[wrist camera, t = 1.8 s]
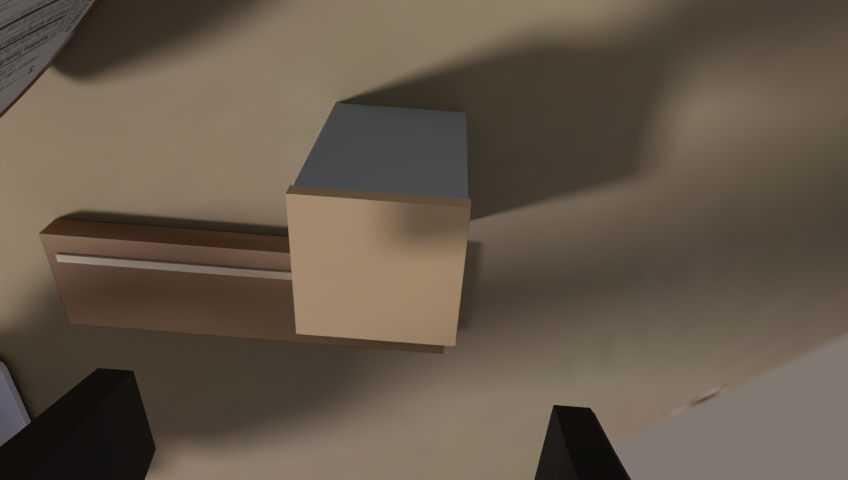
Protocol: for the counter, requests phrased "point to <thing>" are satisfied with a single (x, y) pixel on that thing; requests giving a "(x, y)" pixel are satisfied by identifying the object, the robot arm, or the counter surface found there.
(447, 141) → the tan grey block
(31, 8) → the tin
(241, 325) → the board
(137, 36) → the counter surface
